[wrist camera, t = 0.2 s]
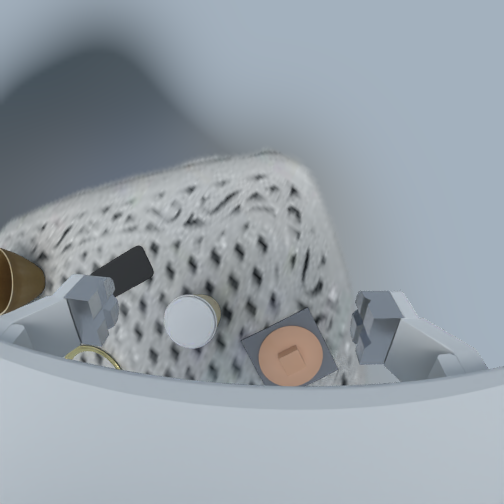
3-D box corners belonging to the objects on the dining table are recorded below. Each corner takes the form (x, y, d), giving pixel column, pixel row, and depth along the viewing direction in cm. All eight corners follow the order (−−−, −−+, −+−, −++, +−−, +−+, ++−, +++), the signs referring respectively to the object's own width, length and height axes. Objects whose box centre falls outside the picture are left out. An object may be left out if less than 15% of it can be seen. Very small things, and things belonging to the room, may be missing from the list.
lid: (332, 367, 62) (336, 374, 57) (276, 395, 62) (276, 404, 57) (305, 314, 62) (308, 317, 58) (247, 343, 63) (246, 349, 58)
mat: (337, 368, 62) (338, 369, 61) (273, 400, 62) (273, 400, 62) (307, 307, 63) (307, 307, 62) (240, 340, 63) (240, 341, 63)
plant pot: (61, 261, 66) (18, 259, 50) (49, 318, 65) (7, 327, 49) (23, 242, 66) (-19, 237, 50) (12, 296, 66) (-29, 299, 50)
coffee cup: (172, 319, 64) (153, 329, 52) (194, 281, 64) (179, 284, 52) (210, 343, 63) (198, 359, 51) (233, 306, 64) (226, 314, 52)
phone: (88, 275, 65) (139, 243, 64) (89, 275, 66) (141, 243, 65) (101, 305, 64) (154, 274, 64) (102, 304, 65) (156, 274, 65)
